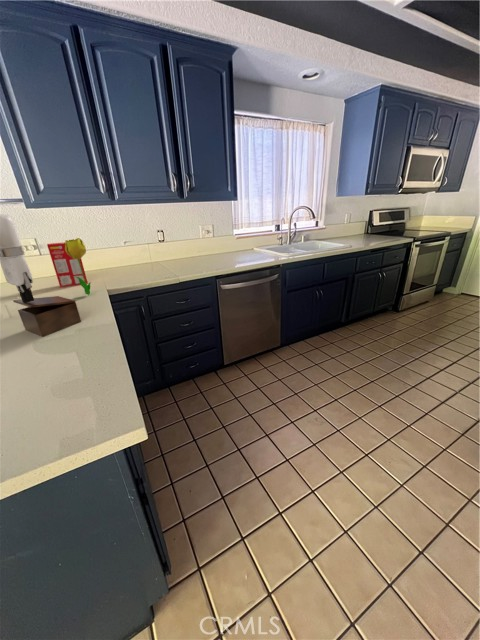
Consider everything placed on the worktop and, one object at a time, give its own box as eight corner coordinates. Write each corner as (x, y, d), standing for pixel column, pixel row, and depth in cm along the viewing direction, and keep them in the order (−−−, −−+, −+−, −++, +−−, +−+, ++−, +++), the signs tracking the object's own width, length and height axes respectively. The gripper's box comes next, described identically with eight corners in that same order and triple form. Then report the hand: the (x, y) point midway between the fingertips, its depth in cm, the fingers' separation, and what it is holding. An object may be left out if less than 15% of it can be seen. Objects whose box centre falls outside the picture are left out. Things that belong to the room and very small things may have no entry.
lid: (30, 307, 96) (30, 305, 96) (13, 302, 101) (13, 300, 101) (75, 302, 110) (75, 300, 110) (58, 297, 115) (58, 296, 115)
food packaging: (87, 281, 170) (76, 241, 160) (87, 283, 166) (77, 242, 156) (60, 285, 163) (47, 243, 152) (60, 287, 159) (47, 244, 148)
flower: (90, 292, 150) (76, 237, 137) (100, 294, 146) (86, 238, 134) (76, 296, 143) (59, 239, 131) (85, 299, 140) (69, 240, 127)
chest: (42, 337, 101) (34, 316, 97) (25, 330, 107) (17, 310, 103) (81, 321, 114) (75, 302, 110) (64, 316, 119) (58, 297, 115)
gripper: (-13, 252, 93) (7, 301, 101) (8, 256, 86) (28, 308, 94) (12, 249, 99) (29, 295, 107) (33, 252, 92) (50, 301, 100)
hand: (28, 301), depth 100 cm, fingers closed
